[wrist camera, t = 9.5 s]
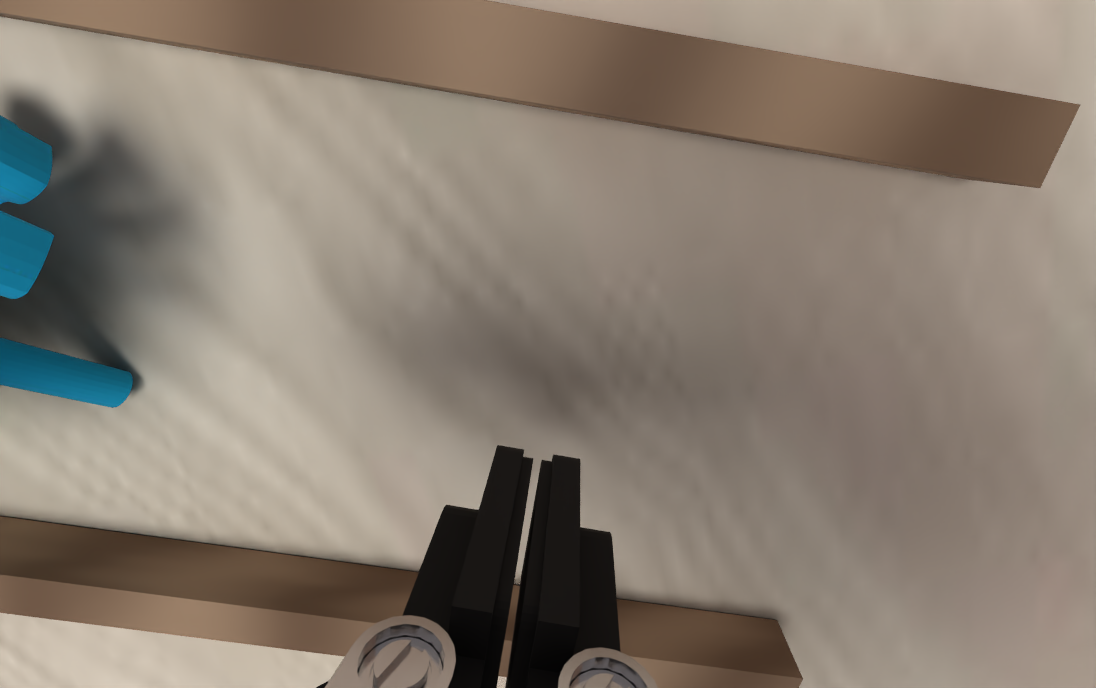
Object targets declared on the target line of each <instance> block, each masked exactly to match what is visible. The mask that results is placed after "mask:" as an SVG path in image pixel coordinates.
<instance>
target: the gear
mask: <svg viewBox="0 0 1096 688" xmlns="http://www.w3.org/2000/svg"><path fill="white" fill-rule="evenodd" d="M51 170H52V146H50V145H48V144H47V143H45V142H43V141H41V140H39V139H38V138H36V137H34V136H32V135H30V134H29V133H27V132H25V131H23V130H21V129H20V128H18V126H17V125H16V124H15V123H13V122H11V121H10V120H8V119H6V118H4V117H2V116H1V115H0V204H2V203H4V202H12V203H16V204H25V203H27V202H29V201H31V200H33V199H34V198H35V197H37V196H38V195H39V194H40V193H41V192H42V191H43V190H44V189H45V188H46V186H47V185H48V182H49V179H50V176H51ZM53 238H54V235H53V234H52V233H51V232H49V231H47V230H44V229H42V228H40V227H37V226H35V225H33V224H30V223H28V222H26V221H23V220H21V219H19V218H17V217H14V216H12V215H10V214H7V213H5V212H3V211H0V296H4V297H7V298H10V299H17V298H19V297H22V296H24V295H25V294H27V293H28V292H29V290H30V288H31V287H32V285H33V284H34V282H35V280H36V278H37V276H38V274H39V272H40V271H41V269H42V266H43V264H44V262H45V259H46V257H47V255H48V252H49V249H50V246H51V244H52V241H53ZM0 385H4V386H9V387H14V388H18V389H23V390H28V391H33V392H38V393H43V394H48V395H53V396H58V397H63V398H68V399H73V400H77V401H82V402H87V403H92V404H97V405H102V406H107V407H112V408H113V407H117V406H119V405H120V404H122V403H123V402H124V401H125V400H126V398H127V397H128V395H129V393H130V391H131V389H132V385H133V378H132V375H131V373H130V372H128V371H124V370H120V369H117V368H113V367H109V366H105V365H102V364H98V363H94V362H90V361H87V360H83V359H79V358H75V357H71V356H68V355H64V354H60V353H56V352H53V351H49V350H45V349H41V348H38V347H34V346H30V345H26V344H23V343H19V342H15V341H11V340H7V339H4V338H0Z"/></svg>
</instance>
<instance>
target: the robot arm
mask: <svg viewBox="0 0 1096 688" xmlns="http://www.w3.org/2000/svg"><path fill="white" fill-rule="evenodd" d="M523 454H524V450H523V449H517V448H511V447H505V446H499V445H498V446H497V448H496V452H495V456H494V459H493V463H492V466H491V470H490V473H489V477H488V480H487V484H486V487H485V491H484V494H483V498H482V501H481V505H480V508H479V510H474V509H468V508H462V507H456V506H450V505H446V506H445V507H444V509H443V511H442V514H441V516H440V519H439V521H438V524H437V527H436V529H435V532H434V534H433V537H432V540H431V542H430V545H429V547H428V550H427V552H426V555H425V558H424V560H423V563H422V565H421V568H420V571H419V573H418V576H417V578H416V581H415V584H414V586H413V589H412V591H411V594H410V597H409V599H408V602H407V604H406V607H405V610H404V612H403V615H402V616H395V617H391V618H388V619H386V620H383V621H380V622H377V623H376V624H375V625H373V626H372V627H370V628H369V629H367V630H366V631H364V632H363V633H362V634H361V636H360V637H359V638H358V639H357V640H356V641H355V642H354V644H353V645H352V646H351V648H350V649H349V651H348V653H347V654H346V656H345V657H344V659H343V660H342V662H341V663H340V665H339V666H338V668H337V669H336V671H335V673H334V674H333V676H332V677H331V679H330V680H329V681H328V682H326V683H324V684H322V685H320V686H318V687H316V688H496V686H497V680H498V675H499V669H500V663H501V657H502V651H503V645H504V640H505V634H506V628H507V622H508V616H509V610H510V604H511V597H512V591H513V585H514V578H515V572H516V566H517V559H518V553H519V547H520V540H521V534H522V527H523V521H524V515H525V508H526V502H527V496H528V489H529V483H530V477H531V470H532V464H533V458H527V457H523ZM505 688H658V687H657V684H656V682H655V680H654V679H653V678H652V677H651V675H650V674H649V673H648V671H647V670H646V669H645V668H644V667H643V666H642V665H641V664H639V663H638V662H637V661H636V660H634V659H633V658H632V657H630V656H628V655H626V654H624V653H622V652H621V649H620V636H619V623H618V610H617V597H616V584H615V571H614V558H613V545H612V536H611V533H610V532H605V531H599V530H593V529H587V528H581V527H580V459H577V458H571V457H565V456H559V455H553V458H552V462H551V461H545V460H542V462H541V467H540V473H539V478H538V484H537V490H536V495H535V501H534V507H533V512H532V518H531V524H530V529H529V535H528V541H527V546H526V552H525V558H524V563H523V569H522V575H521V582H520V589H519V596H518V603H517V610H516V617H515V624H514V631H513V638H512V645H511V652H510V659H509V666H508V673H507V680H506V687H505Z"/></svg>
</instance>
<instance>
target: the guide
mask: <svg viewBox="0 0 1096 688" xmlns="http://www.w3.org/2000/svg"><path fill="white" fill-rule="evenodd" d="M0 16H1V17H7V18H13V19H19V20H25V21H31V22H37V23H42V24H48V25H54V26H60V27H66V28H72V29H78V30H84V31H90V32H96V33H102V34H108V35H114V36H120V37H126V38H131V39H137V40H143V41H149V42H155V43H161V44H167V45H173V46H179V47H185V48H191V49H197V50H203V51H209V52H215V53H220V54H226V55H232V56H238V57H244V58H250V59H256V60H262V61H268V62H274V63H280V64H286V65H292V66H298V67H303V68H309V69H315V70H321V71H327V72H333V73H339V74H345V75H351V76H357V77H363V78H369V79H375V80H381V81H387V82H392V83H398V84H404V85H410V86H416V87H422V88H428V89H434V90H440V91H446V92H452V93H458V94H464V95H470V96H476V97H481V98H487V99H493V100H499V101H505V102H511V103H517V104H523V105H529V106H535V107H541V108H547V109H553V110H559V111H565V112H570V113H576V114H582V115H588V116H594V117H600V118H606V119H612V120H618V121H624V122H630V123H636V124H642V125H648V126H654V127H659V128H665V129H671V130H677V131H683V132H689V133H695V134H701V135H707V136H713V137H719V138H725V139H731V140H737V141H742V142H748V143H754V144H760V145H766V146H772V147H778V148H784V149H790V150H796V151H802V152H808V153H814V154H820V155H826V156H831V157H837V158H843V159H849V160H855V161H861V162H867V163H873V164H879V165H885V166H891V167H897V168H903V169H909V170H915V171H920V172H926V173H932V174H938V175H944V176H950V177H956V178H962V179H968V180H977V181H985V182H994V183H1002V184H1010V185H1019V186H1027V187H1036V188H1040V187H1041V185H1042V183H1043V181H1044V179H1045V177H1046V175H1047V173H1048V171H1049V169H1050V167H1051V164H1052V162H1053V160H1054V158H1055V156H1056V154H1057V152H1058V150H1059V148H1060V146H1061V144H1062V142H1063V140H1064V138H1065V135H1066V133H1067V131H1068V129H1069V127H1070V125H1071V123H1072V121H1073V119H1074V117H1075V115H1076V113H1077V111H1078V109H1079V107H1080V105H1079V104H1073V103H1068V102H1062V101H1056V100H1051V99H1045V98H1039V97H1033V96H1028V95H1022V94H1016V93H1011V92H1005V91H999V90H994V89H988V88H982V87H977V86H971V85H965V84H959V83H954V82H948V81H942V80H937V79H931V78H925V77H920V76H914V75H908V74H902V73H897V72H891V71H885V70H880V69H874V68H868V67H863V66H857V65H851V64H846V63H840V62H834V61H828V60H823V59H817V58H811V57H806V56H800V55H794V54H789V53H783V52H777V51H771V50H766V49H760V48H754V47H749V46H743V45H737V44H732V43H726V42H720V41H715V40H709V39H703V38H697V37H692V36H686V35H680V34H675V33H669V32H663V31H658V30H652V29H646V28H641V27H635V26H629V25H623V24H618V23H612V22H606V21H601V20H595V19H589V18H584V17H578V16H572V15H566V14H561V13H555V12H549V11H544V10H538V9H532V8H527V7H521V6H515V5H510V4H504V3H498V2H492V1H487V0H0ZM418 573H419V572H412V571H405V570H397V569H390V568H382V567H375V566H367V565H360V564H352V563H345V562H337V561H330V560H322V559H315V558H308V557H300V556H293V555H285V554H278V553H270V552H263V551H255V550H248V549H240V548H233V547H225V546H218V545H210V544H203V543H195V542H188V541H181V540H173V539H166V538H158V537H151V536H143V535H136V534H128V533H121V532H113V531H106V530H98V529H91V528H83V527H76V526H68V525H61V524H54V523H46V522H39V521H31V520H24V519H16V518H9V517H1V516H0V613H7V614H15V615H23V616H31V617H39V618H47V619H55V620H62V621H70V622H78V623H86V624H94V625H102V626H110V627H118V628H125V629H133V630H141V631H149V632H157V633H165V634H173V635H180V636H188V637H196V638H204V639H212V640H220V641H228V642H236V643H243V644H251V645H259V646H267V647H275V648H283V649H291V650H298V651H306V652H314V653H322V654H330V655H338V656H346V654H347V653H348V651H349V649H350V648H351V646H352V645H353V644H354V642H355V641H356V640H357V639H358V638H359V637H360V636H361V634H362V633H363V632H364V631H366V630H367V629H369V628H370V627H372V626H373V625H375V624H376V623H377V622H380V621H383V620H386V619H388V618H391V617H395V616H402V615H403V612H404V610H405V607H406V604H407V602H408V599H409V597H410V594H411V591H412V589H413V586H414V584H415V581H416V578H417V576H418ZM519 589H520V586H517V585H513V591H512V597H511V604H510V610H509V616H508V622H507V628H506V634H505V640H504V645H503V651H502V657H501V663H500V669H499V675H498V676H503V677H507V673H508V666H509V659H510V652H511V645H512V638H513V631H514V624H515V617H516V610H517V603H518V596H519ZM617 610H618V623H619V636H620V649H621V652H622V653H624V654H626V655H628V656H630V657H632V658H633V659H634V660H636V661H637V662H638V663H639V664H641V665H642V666H643V667H644V668H645V669H646V670H647V671H648V673H649V674H650V675H651V677H652V678H653V679H654V680H655V682H656V684H657V687H658V688H799V686H800V684H801V682H802V680H803V678H802V676H801V673H800V671H799V669H798V667H797V664H796V662H795V660H794V658H793V655H792V653H791V651H790V648H789V646H788V644H787V642H786V639H785V637H784V635H783V633H782V630H781V628H780V626H779V624H778V621H777V620H771V619H763V618H756V617H748V616H741V615H733V614H726V613H718V612H711V611H704V610H696V609H689V608H681V607H674V606H666V605H659V604H651V603H644V602H636V601H629V600H621V599H617Z"/></svg>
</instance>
